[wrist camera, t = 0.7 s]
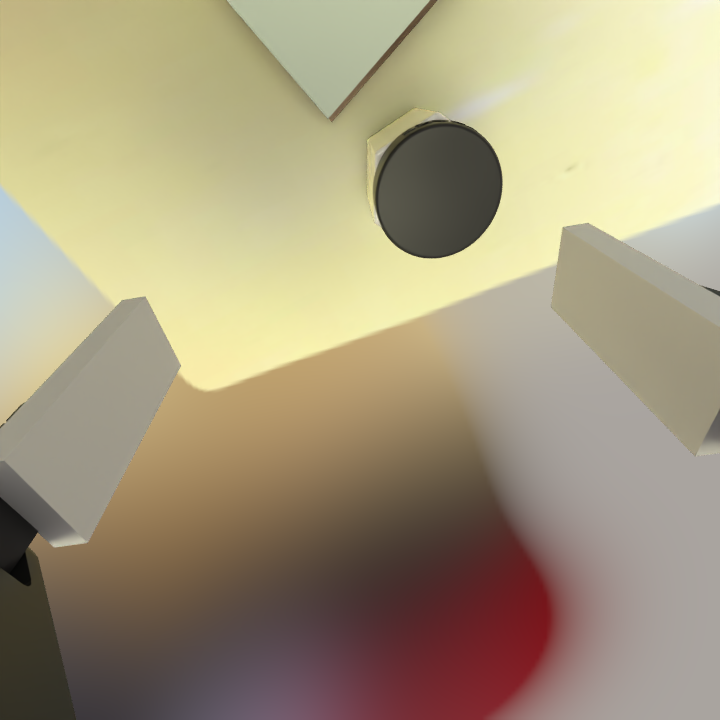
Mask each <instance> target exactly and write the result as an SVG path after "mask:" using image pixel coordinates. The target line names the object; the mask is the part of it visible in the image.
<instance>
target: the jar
mask: <svg viewBox="0 0 720 720" xmlns="http://www.w3.org/2000/svg"><path fill="white" fill-rule="evenodd" d="M502 185H503V184H502V171H501V166H500V163H499V160H498V157H497V155H496V153H495V151H494V149H493V148H492V146H491V145H490V143H489V142H488V141H487V140H486V139H485V138H484V137H483V136H482V135H481V134H479V133H478V132H477V131H476V130H474V129H473V128H471V127H469V126H466V125H465V124H462V123H459V122H456V121H451V120H449V119H448V118H447V117H445V116H444V115H442V114H441V113H440V112H436V111H430V110H425V109H419V108H413V109H412V110H410V111H409V112H407V113H406V114H404V115H403V116H401V117H400V118H398V119H397V120H395V121H394V122H392V123H391V124H389V125H388V126H386V127H385V128H383V129H382V130H380V131H379V132H377V133H376V134H374V135H373V136H371V137H370V138H369V139H368V140H367V197H368V201H369V205H370V209H371V213H372V216H373V220H374V223H375V224H376V225H378V226H380V227H382V229H383V231H384V232H385V234H386V235H387V237H388V238H389V239H390V240H391V242H392V243H394V244H395V245H396V246H397V247H398V248H400V249H401V250H403V251H404V252H406V253H408V254H411V255H413V256H417V257H421V258H442V257H446V256H450V255H453V254H455V253H458V252H460V251H462V250H464V249H465V248H467V247H468V246H470V245H471V244H473V243H474V242H475V241H476V240H477V239H478V238H479V237H480V236H481V235H482V234H483V233H484V232H485V231H486V229H487V228H488V227H489V225H490V224H491V222H492V220H493V218H494V216H495V214H496V212H497V209H498V207H499V203H500V200H501V195H502Z"/></svg>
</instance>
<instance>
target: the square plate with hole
mask: <svg viewBox="0 0 720 720" xmlns="http://www.w3.org/2000/svg"><path fill="white" fill-rule="evenodd" d="M429 1H430V0H227V2H228V3H229V4H230V5H231V6H232V7H233V9H234V10H235V11H236V12H237V13H238V14H239V16H240V17H241V18H242V19H243V20H244V21H245V23H246V24H247V25H248V26H249V27H250V28H251V30H252V31H253V32H254V33H255V34H256V35H257V37H258V38H259V39H260V40H261V41H262V43H263V44H264V45H265V46H266V47H267V48H268V50H269V51H270V52H271V53H272V54H273V55H274V57H275V58H276V59H277V60H278V61H279V62H280V64H281V65H282V66H283V67H284V68H285V69H286V71H287V72H288V73H289V74H290V75H291V76H292V78H293V79H294V80H295V81H296V82H297V83H298V85H299V86H300V87H301V88H302V89H303V90H304V92H305V93H306V94H307V95H308V96H309V97H310V99H311V100H312V101H313V102H314V103H315V104H316V106H317V107H318V108H319V109H320V110H321V112H322V113H323V114H324V115H325V116H326V117H327V119H328V118H329V117H330V116H331V115H332V114H333V113H334V111H335V110H336V109H337V108H338V107H339V106H340V104H341V103H342V102H343V101H344V100H345V99H346V97H347V96H348V95H349V94H350V93H351V92H352V90H353V89H354V88H355V87H356V86H357V85H358V83H359V82H360V81H361V80H362V79H363V78H364V77H365V75H366V74H367V73H368V72H369V71H370V70H371V68H372V67H373V66H374V65H375V64H376V63H377V61H378V60H379V59H380V58H381V57H382V56H383V54H384V53H385V52H386V51H387V50H388V49H389V47H390V46H391V45H392V44H393V43H394V42H395V40H396V39H397V38H398V37H399V36H400V35H401V34H402V32H403V31H404V30H405V29H406V28H407V27H408V25H409V24H410V23H411V22H412V21H413V20H414V18H415V17H416V16H417V15H418V14H419V13H420V11H421V10H422V9H423V8H424V7H425V6H426V4H427V3H428V2H429Z"/></svg>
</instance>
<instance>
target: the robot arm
mask: <svg viewBox="0 0 720 720" xmlns="http://www.w3.org/2000/svg"><path fill="white" fill-rule="evenodd" d="M551 308H552V309H553V310H554V311H555V312H556V313H557V314H558V315H559V316H560V317H561V318H562V319H563V320H564V321H565V322H566V323H567V324H568V325H569V326H570V327H571V328H572V329H573V330H574V332H576V333H577V335H579V337H580V338H581V339H582V340H583V341H584V342H585V343H586V344H587V345H588V346H589V347H590V348H591V349H592V350H593V351H594V352H595V353H596V354H597V355H598V356H599V357H600V358H601V359H602V360H603V362H605V364H606V365H607V366H608V367H609V368H610V369H611V370H612V371H613V372H614V373H615V374H616V375H617V376H618V377H619V378H620V379H621V380H622V381H623V382H624V383H625V384H626V385H627V386H628V388H629V389H631V391H632V392H633V393H634V394H635V395H636V396H637V397H638V398H639V399H640V400H641V401H642V402H643V403H644V404H645V405H646V406H647V407H648V408H649V409H650V410H651V411H652V412H653V413H654V414H655V415H656V417H658V419H660V421H661V422H662V423H663V424H664V425H665V426H666V427H667V428H668V429H669V430H670V431H671V432H672V433H673V434H674V435H675V436H676V437H677V438H678V439H679V440H680V441H681V442H682V443H683V445H684V446H685V447H687V449H688V450H689V451H690V452H691V453H692V454H693V455H694V456H702V455H709V454H716V453H720V291H717V290H714V289H710V288H707V287H704V286H700V285H698V284H696V283H695V282H693V281H691V280H689V279H687V278H685V277H684V276H682V275H680V274H678V273H677V272H675V271H673V270H671V269H669V268H668V267H666V266H664V265H662V264H661V263H659V262H657V261H655V260H653V259H652V258H650V257H648V256H646V255H645V254H643V253H641V252H639V251H637V250H635V249H634V248H632V247H630V246H628V245H627V244H625V243H623V242H621V241H619V240H618V239H616V238H614V237H612V236H611V235H609V234H607V233H605V232H603V231H602V230H600V229H598V228H596V227H594V226H593V225H591V224H589V223H585V224H579V225H573V226H567V227H563V229H562V236H561V242H560V249H559V256H558V262H557V270H556V276H555V283H554V290H553V296H552V303H551ZM180 367H181V365H180V363H179V361H178V359H177V357H176V355H175V353H174V351H173V349H172V347H171V345H170V343H169V341H168V339H167V337H166V335H165V333H164V332H163V330H162V328H161V326H160V324H159V322H158V320H157V318H156V316H155V314H154V312H153V310H152V308H151V306H150V304H149V302H148V300H147V299H146V297H139V298H133V299H127V300H122V301H121V302H120V303H119V304H118V305H117V306H116V307H115V308H114V310H112V311H111V313H110V314H109V315H108V316H107V317H106V318H105V319H104V320H103V321H102V322H101V323H100V324H99V325H98V326H97V327H96V328H95V329H94V330H93V332H92V333H91V334H90V335H89V336H88V337H87V338H86V339H85V340H84V341H83V342H82V343H81V344H80V345H79V346H78V347H77V348H76V349H75V350H74V352H73V353H72V354H71V355H70V356H69V357H68V358H67V359H66V360H65V361H64V362H63V363H62V364H61V365H60V366H59V367H58V368H57V369H56V370H55V372H54V373H53V374H52V375H51V376H50V377H49V378H48V379H47V380H46V381H45V382H44V383H43V384H42V385H41V386H40V387H39V388H38V389H37V390H36V392H35V393H34V394H33V395H32V396H31V397H30V398H29V399H28V400H27V401H26V402H25V403H23V404H22V405H21V406H20V407H19V408H18V409H17V410H16V411H15V412H14V413H13V414H12V415H11V416H10V417H9V418H8V419H7V420H6V421H7V422H6V423H4V424H2V425H1V426H0V720H76V716H75V712H74V708H73V703H72V699H71V695H70V691H69V687H68V683H67V678H66V674H65V670H64V666H63V661H62V657H61V653H60V649H59V644H58V640H57V636H56V632H55V628H54V624H53V619H52V615H51V611H50V606H49V602H48V598H47V594H46V590H45V585H44V581H43V577H42V573H41V569H40V564H39V560H38V557H37V556H36V554H35V553H34V552H33V551H32V550H31V549H30V548H28V546H29V544H30V543H31V542H32V540H33V539H34V537H35V536H36V534H37V532H38V533H39V534H40V535H41V536H42V537H43V538H44V539H46V540H47V541H48V542H49V543H50V544H51V545H52V546H53V547H61V546H68V545H75V544H82V543H88V541H89V539H90V537H91V535H92V533H93V532H94V530H95V528H96V526H97V524H98V522H99V520H100V518H101V517H102V515H103V513H104V511H105V509H106V507H107V505H108V503H109V501H110V499H111V498H112V496H113V494H114V492H115V490H116V488H117V486H118V484H119V482H120V480H121V479H122V477H123V475H124V473H125V471H126V469H127V467H128V465H129V463H130V462H131V459H132V458H133V456H134V454H135V452H136V450H137V448H138V446H139V444H140V442H141V441H142V439H143V437H144V435H145V433H146V431H147V429H148V427H149V425H150V424H151V422H152V420H153V418H154V416H155V414H156V412H157V410H158V408H159V406H160V404H161V403H162V401H163V399H164V397H165V395H166V393H167V391H168V389H169V387H170V386H171V384H172V382H173V380H174V378H175V376H176V374H177V372H178V370H179V368H180Z"/></svg>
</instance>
